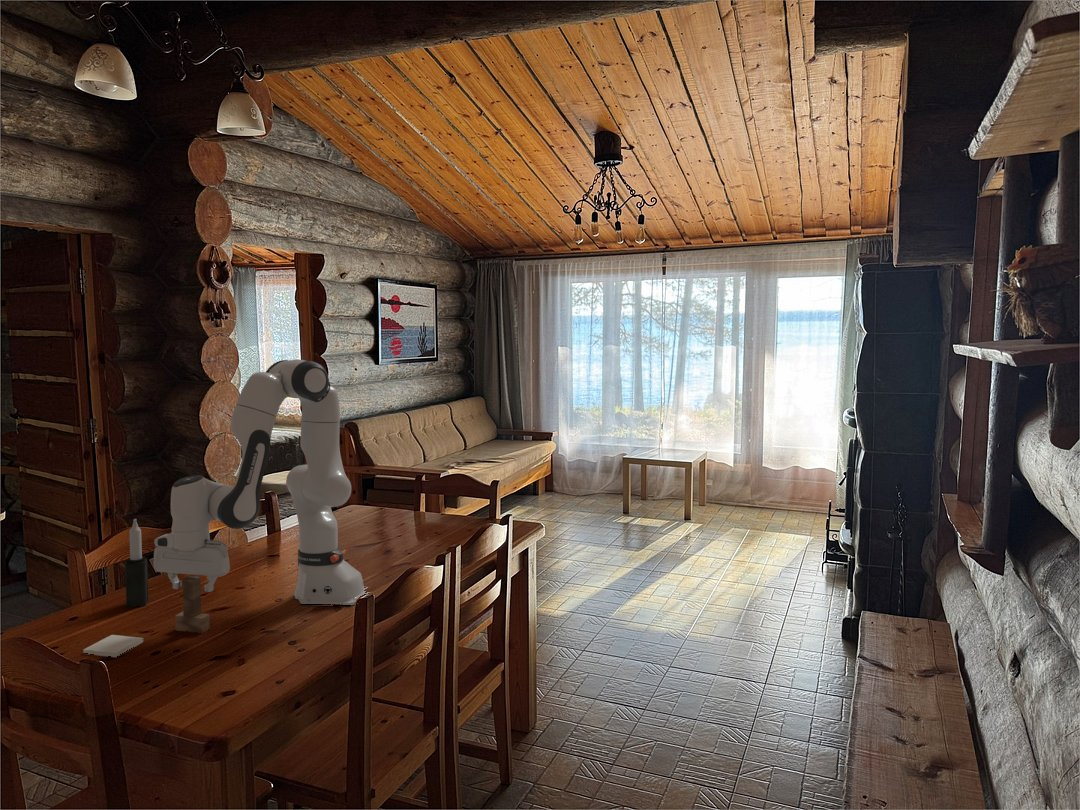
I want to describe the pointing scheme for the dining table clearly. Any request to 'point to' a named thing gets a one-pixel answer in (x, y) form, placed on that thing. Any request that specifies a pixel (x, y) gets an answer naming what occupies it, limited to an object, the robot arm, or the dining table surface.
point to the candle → (136, 571)
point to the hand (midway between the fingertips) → (193, 589)
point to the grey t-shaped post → (192, 608)
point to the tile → (113, 645)
